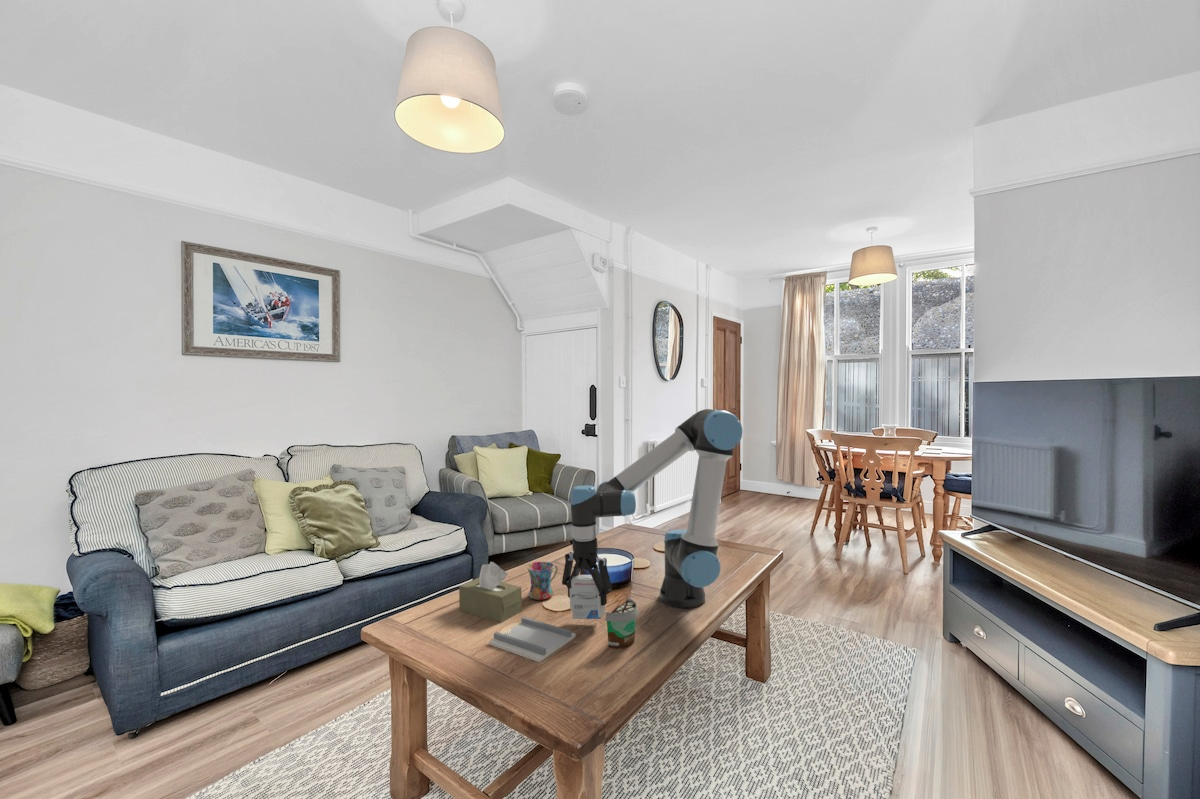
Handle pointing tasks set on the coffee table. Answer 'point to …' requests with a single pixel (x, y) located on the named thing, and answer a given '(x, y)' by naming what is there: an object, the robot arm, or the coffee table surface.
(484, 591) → the tissue box
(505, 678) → the coffee table surface
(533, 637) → the rail mount
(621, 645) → the food container
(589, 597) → the ink box
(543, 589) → the mug
